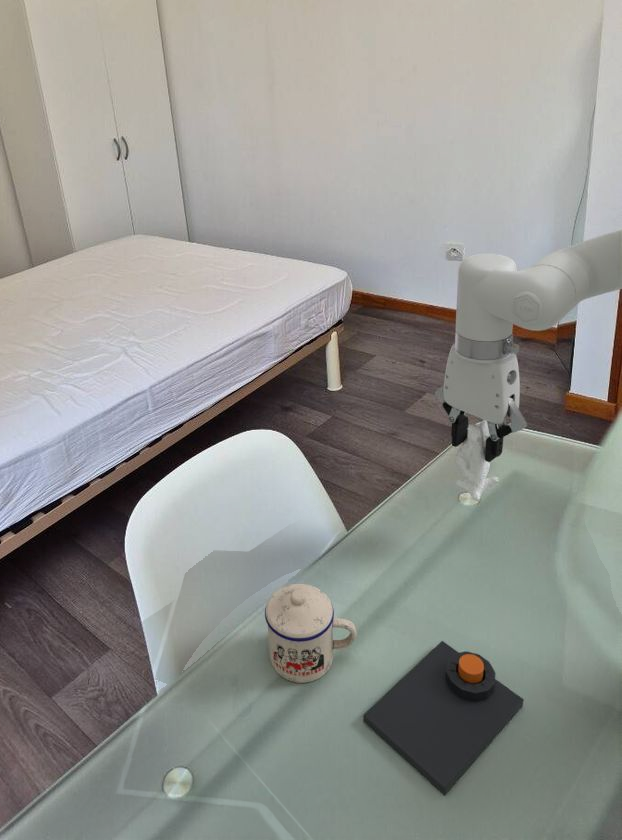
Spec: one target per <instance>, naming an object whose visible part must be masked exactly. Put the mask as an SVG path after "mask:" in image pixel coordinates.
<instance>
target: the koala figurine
mask: <svg viewBox="0 0 622 840" xmlns="http://www.w3.org/2000/svg"><path fill="white" fill-rule="evenodd" d="M467 429H468V438H466V439H465V440H464V442H463V443H461V444H460V445H459V447H458V449H457V452H456V455H455V456H454V463H455V465H456V467H457V468H458V469H459V471H460V473H461V474H462V475H463V476H465V477H466V478H465V479H458V480H455V485H456V486H457V487H459V488H461V489H464V491H466V492H468V494H469V495H470V497H471V498H472V499H473V500H475V501H479V500H481V495H482V493H485V492H487V491H491V490H492V488H493V486H495V485H497V484H498V483H500V481H499V480H500V479H499V478H498V477H497V476H492V477H488V478H487V475H488V473H489V471H490V468H491V462H487V461H486V460H485V448H486V439H487V438H488V437H490V434H489V429H488V425H487V421H486V420H484V419H482V421H481V422H480V423H479V425H478V424H476V423H470V424H468V428H467Z"/></svg>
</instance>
